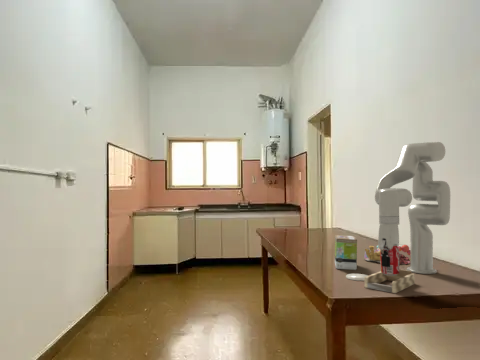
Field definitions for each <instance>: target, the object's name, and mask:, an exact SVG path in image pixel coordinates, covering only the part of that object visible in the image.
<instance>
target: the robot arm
mask: <svg viewBox="0 0 480 360" xmlns="http://www.w3.org/2000/svg"><path fill="white" fill-rule="evenodd" d="M445 155H446V148H445V145H444V143H443V142H441V141H434V142H433V141H431V142H417V143H416V142H415V143H408V144H405V145H403V147H402V148H401V150H400V153H399V156H398V157H397V158H398V159H397V161H396V164H395V167H394V169H392V170H390V171H389V172H388V173H386V174H385V175H384V176H383V177H382V178H381V179H380V180H379V181H378V184H377V186H376V189H375V191H374V192H375V194H374V201H375V203H376V204H377V205H378V220H379V221H378V222H379V223H378V225H379V227H378V236H377V237H378V240H377V241H378V242H377V243H378V244H377V246H378V248H379V249H380V252H381V264H382V266H384V267H390V257H389V253H390V250H391V249H392V248H393V245H397V247H398V246H400V231H399V230H400V229H399V225H400V208H403V207H408V206H409V207H408V210H407V216H408V220H409V228H410V231H409V233H410V236H409V237H410V238H409V239H410V241H409V243H410V244H409V246H410V247H409V250H410V255H409V259H410V263H409V264H410V266H407V267H406V270H408V271H411V273H413V274H420V275H421V274H422V275H432V274H433V275H434V274H437V269H436V268H434V267H433V266H434V260H433V259H434V255H433V253H434V252H433V251H434V250H433V249H434V240H433V239H434V237H433V236H434V235H433V232H432V230H431V228H430V227H429V226H446V225H448V224H449V223H450V218H451V187H450V185H449V183H448V182H446V181H444V180H434V179H433V177H434V175H433V168H432V167H431V165H429V162H433V163H434V162H440V161H442V160H443V159H444V158H445ZM411 179H412V192H411V191H410V190H408V189H406V188H399V187H398V188H396V187H395V188H394V186H395V185H398V184H401V183H403V182H404V183H405V182H406V181H409V180H411ZM413 199H414V200H416V201H421V202H436V203H434V204H433V203H415V204H412V205H410V204H411V203H412V201H413ZM428 225H429V226H428ZM385 247H387V248H388V249H387V248H385ZM385 250H386V251H387V252H386V251H385Z"/></svg>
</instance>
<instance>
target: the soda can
mask: <svg viewBox="0 0 480 360" xmlns="http://www.w3.org/2000/svg"><path fill="white" fill-rule="evenodd" d="M385 248H387V247H385ZM387 249H388V248H387ZM385 251H386V250H385ZM386 252H387V251H386ZM399 254H400V251H399V248H398V247H397V245H393V248H392V249H391V250H390V253H389V257H390V267H384V266H382V264H381V252H380V262H379V263H380V271H381V272H382V273H383V274H384V275H388V276H395V275H397V274H399V269H400V264H399Z"/></svg>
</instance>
